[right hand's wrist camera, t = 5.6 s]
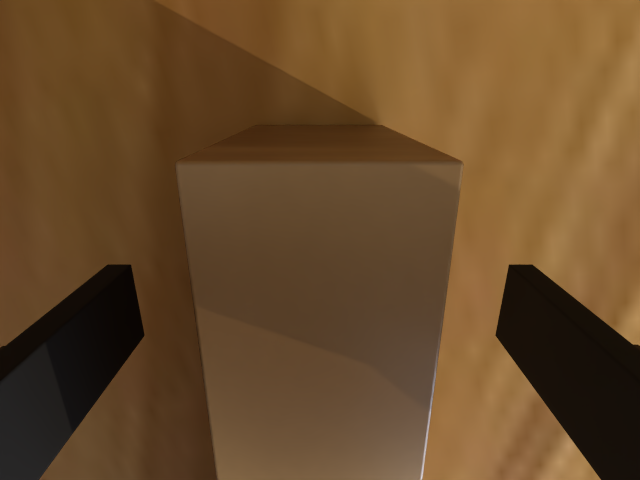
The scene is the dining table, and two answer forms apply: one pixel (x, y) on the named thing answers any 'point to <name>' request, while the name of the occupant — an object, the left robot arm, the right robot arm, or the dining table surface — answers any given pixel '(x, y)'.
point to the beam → (319, 297)
